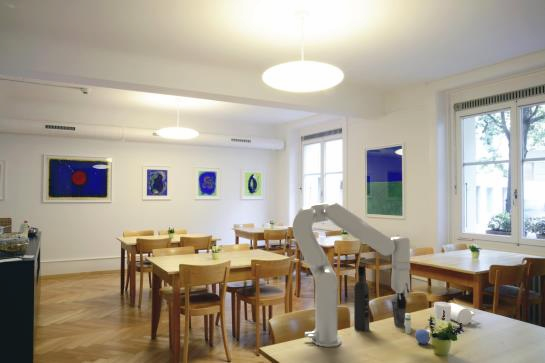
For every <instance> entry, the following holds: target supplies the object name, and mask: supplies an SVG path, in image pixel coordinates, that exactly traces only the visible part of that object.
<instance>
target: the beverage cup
mask: <svg viewBox="0 0 545 363" xmlns="http://www.w3.org/2000/svg"><path fill="white" fill-rule="evenodd" d="M407 300H408V299H406V305H408V301H407ZM391 305H392V313H393V315H392V316H393V322H394V326H395V327H398V328H405V313H406V310H407V309H406V308H405V309H399V308H397V295H396V293H395V294H393V295H392V297H391Z"/></svg>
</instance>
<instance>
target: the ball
mask: <svg viewBox="0 0 545 363" xmlns="http://www.w3.org/2000/svg"><path fill="white" fill-rule="evenodd" d="M426 330H427V329H423V328H419V329H418V330H416V331H415V334H414V338H415V339H416V341H417V342H418V343H419V344H420V345H426V344H428V343H429V342H430V341H431V337H430V338H429V333H428V331H426Z"/></svg>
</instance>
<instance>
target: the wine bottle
mask: <svg viewBox="0 0 545 363" xmlns="http://www.w3.org/2000/svg"><path fill="white" fill-rule="evenodd" d="M357 270H358V272H357V273H358V281H356V282H355V284H354V287H353V301H354V302H353V304H354V305H353V313H354V314H353V315H354V318H353V322H354V324H353V325H354V329H355V331H360V332H363V333H364V332H366V331H368V330H369V329H370V288H369V284H368V283H367V282H366V281H365V265H362V264H360V265H358V266H357Z"/></svg>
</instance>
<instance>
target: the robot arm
mask: <svg viewBox="0 0 545 363" xmlns="http://www.w3.org/2000/svg"><path fill="white" fill-rule="evenodd" d="M327 221H329V222H330V223H332V224H333V225H335V226H336V227H338V228H339V229H341V231H344V232H345V233H347V234H349V235H350V236H352V237H353V238H354V239H357V240H359V241H361V242H362V243H363V244H365V245H367V246H369V247H370V248H371V249H373V250H375V251H376V252H377V253H379V254H380V255H383V256H387V257H388V256H391V281H390V287H391V290H393V291H394V292H395V294H396V295H397V308H399V309H405V308H406V307H407V304H406V300H407V298H408V297H409V296H408V294H410V293H411V277H410V270H411V242H410V241H411V240H410V238H409V237H407V236H400V235H399V236H397V235H396V236H387V235H385V234H384V233H382V232H381V231H380V230H378V229H376V228H374V227H373V226H371V225H370V224H369V223H368V222H366V221H365V220H364V219H362V218H361V217H359V216H358V215H356V214H355V213H353V212H351V211H350V210H348V209H347V208H345V207H344V206H342V205H341V204H340V203H338V202H335V201H327V202H323V203H322V202H321V203H317V204H310V205H309V204H308V205H304V206H302V207H300V208H299V209H298V211H297V213H296V215H295V217H294V219H293V222H292V234H293V236H294V239H295V242H296V244H297V245H298V248H299V250H300V252H301V254H302V256H303V259H304V262H305V264H306V265H307V266H308V268H309V270H310V273H312V276H313V277H314V282H315V283H314V284H315V285H314V286H315V293H314V294H315V295H314V297H315V302H314V305H315V306H314V307H315V309H314V310H315V312H314V313H315V316H314V317H315V328H314V329H313V330H312V331H305V332H304V337H305V338H307V337H308V339H311V342H312V343H313V344H314V343H315V344H314V345H316V346H318V345H319V346H318V347H323V346H324V348H332V347H333V348H334V347H337V346H340V345H341V343H342V339H341V337H339V335H338V334H339V333H338V290H339V282H338V281H339V280H338V275H337V274H336V271H334V268H333V267H332V265H331V263H330V261H329V259H328V257H327V255H326V253H325V251H324V249H323V247H322V246H320V243H319V241H318V240H317V238H316V236H315V233H314V231H313V225H314V224H315V223H322V222H327Z"/></svg>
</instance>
